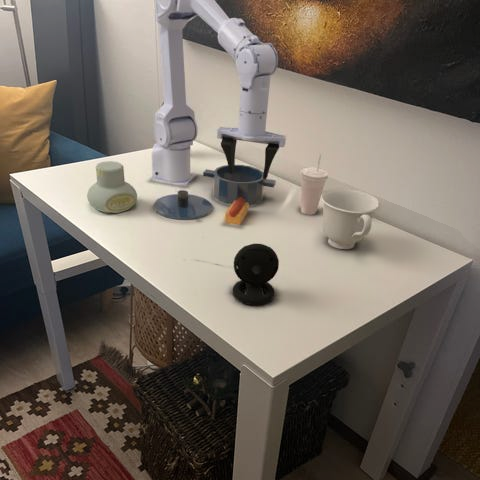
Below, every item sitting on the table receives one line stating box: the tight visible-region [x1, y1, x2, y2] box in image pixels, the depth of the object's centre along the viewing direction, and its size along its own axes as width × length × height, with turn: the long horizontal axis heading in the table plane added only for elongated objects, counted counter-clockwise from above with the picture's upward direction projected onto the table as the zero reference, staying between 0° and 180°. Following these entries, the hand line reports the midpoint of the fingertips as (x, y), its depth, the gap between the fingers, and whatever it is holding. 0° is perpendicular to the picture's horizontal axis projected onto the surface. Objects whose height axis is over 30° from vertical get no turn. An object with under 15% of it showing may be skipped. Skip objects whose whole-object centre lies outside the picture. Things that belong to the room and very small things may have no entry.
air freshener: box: [86, 160, 138, 214], centre depth 111 cm, size 11×8×10 cm
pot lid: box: [153, 189, 213, 221], centre depth 115 cm, size 13×13×4 cm
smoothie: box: [299, 152, 329, 215], centre depth 116 cm, size 6×6×14 cm
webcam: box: [232, 243, 280, 306], centre depth 86 cm, size 8×8×10 cm
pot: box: [202, 164, 277, 206], centre depth 123 cm, size 12×18×6 cm
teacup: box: [320, 188, 381, 250], centre depth 104 cm, size 12×15×10 cm
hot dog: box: [224, 198, 249, 226], centre depth 113 cm, size 8×3×4 cm, turn 165°
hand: (248, 174), depth 111 cm, fingers open, 7 cm apart
